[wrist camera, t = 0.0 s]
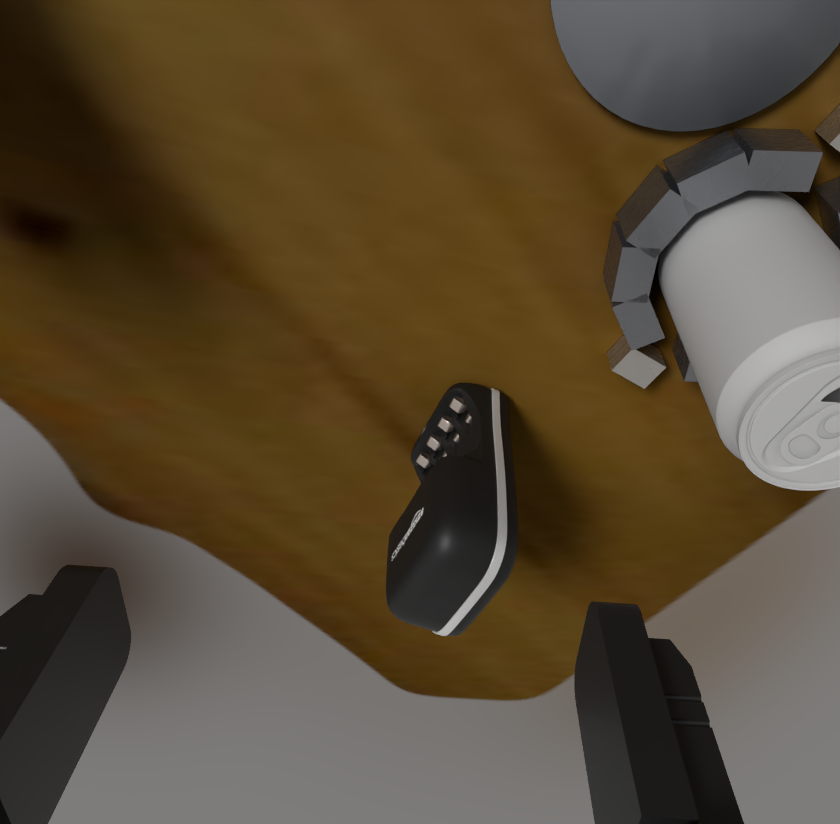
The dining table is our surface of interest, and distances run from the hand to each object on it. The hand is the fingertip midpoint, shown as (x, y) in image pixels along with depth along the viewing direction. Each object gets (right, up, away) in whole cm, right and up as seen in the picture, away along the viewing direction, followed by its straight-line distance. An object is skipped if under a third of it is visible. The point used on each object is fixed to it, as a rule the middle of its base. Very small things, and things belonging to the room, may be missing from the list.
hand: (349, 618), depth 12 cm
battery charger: (+3, +3, +26) cm, 27 cm away
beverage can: (+15, +11, +19) cm, 27 cm away
